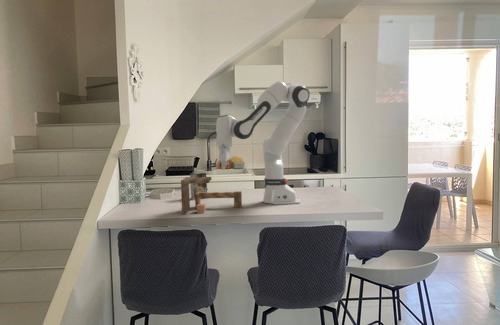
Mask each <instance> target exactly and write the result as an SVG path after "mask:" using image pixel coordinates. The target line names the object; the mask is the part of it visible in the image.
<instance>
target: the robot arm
mask: <svg viewBox="0 0 500 325" xmlns="http://www.w3.org/2000/svg"><path fill="white" fill-rule="evenodd" d="M310 94H311V93H310V91H309V88H307V87H306V86H304V85H300V84H296V83H285V82H284V81H280V80H279V81H275V82H274V83H273V84H271V85H270V86H268V87H267V88H266V90H264V91H263V92H262V93H261V95H260V96H259V97H258V99H257V102H256V103H257V106H256V108H255V109H254V110H253V111H252V112H251V113H250V114H249V115H247V117H246V118H244V119H241V120H239V119H237V118H235V117H233V116H231V114H223V115H219V116H218V117H217V118H216V122H215V132H216V139H215V140H216V141H215V142H216V144H215V148H218V160H219V162H220V163H221V165H220V166H221V170H223V171H224V170H226V168H228V160H229V159H230V154H231V148H233V137H234V138H237V139H241V140H246V139H249V138H250V137H251V136H252V135H253V131H254V130H255V128H256V126H257V125H258V124H259V123H260V121H261V120H263V119H264V117H265V116H266V115H268V114H269V113H271V111H273V110H274V109H275V108H277V107H278V106H279V105H280V103H282V102H283V101H284V102H288V107H287V109H286V111H285V112H284V113H283V115H281V116H282V117H281V118H280V119H279V121H278V123H277V124H276V126H275V129H274V131H273V132H272V134H271V135H270V136H267V137H266V138H265V139H264V140H263V142H262V152H263V160H264V179H263V185H264V192H263V198H262V203H264V204H270V205H288V204H289V205H290V204H291V205H292V204H293V205H294V204H300V203H301V199H300V198H299V197H298V196H297V191H296V190H295V189H293V188H292V187H291V186H289V185H288V183H289V180H288V179H287V178H284V163H283V162H284V161H283V157H282V155H283V153H284V152H285V151H286V149H287V147H288V145H289V143H290V141H291V138H292V137H293V135H294V133H295V131H297V129H298V127H299V125H301V123H302V121H303V119H304V117H305V115H306V112H307V106H306V105H307V103H308V101H309V99H310Z"/></svg>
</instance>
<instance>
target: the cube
mask: <svg viewBox="0 0 500 325" xmlns="http://www.w3.org/2000/svg"><path fill="white" fill-rule="evenodd" d="M196 213H198V214H203V213H206V203H201V204H198V205H197V209H196Z"/></svg>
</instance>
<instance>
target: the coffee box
mask: <svg viewBox="0 0 500 325" xmlns="http://www.w3.org/2000/svg"><path fill="white" fill-rule="evenodd" d="M189 177H207V173H205V172H197V173H196V172H192V173H189ZM189 187H190V199H193V200H195V194H196V193H197V192H198V191H200V192H208V183H189ZM202 199H204V198H200V200H202Z"/></svg>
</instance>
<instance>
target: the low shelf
mask: <svg viewBox="0 0 500 325" xmlns="http://www.w3.org/2000/svg"><path fill="white" fill-rule="evenodd" d="M211 181H212V176H206V177H190V176H187V177H184V178H183V179H181V180H180V188H181V189H180V192H181V194H180V195H181V214H182V216H186V215H187V213H189V211H190V209H191V204H190V203H191V201H190V199H191V196H190V183H207V184H209V183H210V182H211Z"/></svg>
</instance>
